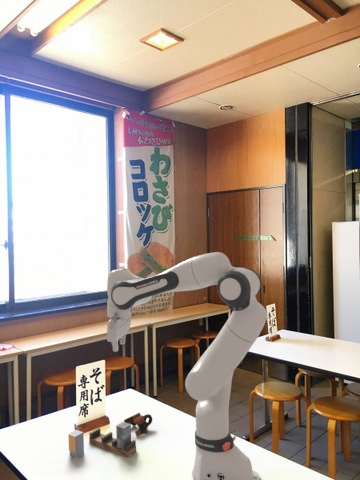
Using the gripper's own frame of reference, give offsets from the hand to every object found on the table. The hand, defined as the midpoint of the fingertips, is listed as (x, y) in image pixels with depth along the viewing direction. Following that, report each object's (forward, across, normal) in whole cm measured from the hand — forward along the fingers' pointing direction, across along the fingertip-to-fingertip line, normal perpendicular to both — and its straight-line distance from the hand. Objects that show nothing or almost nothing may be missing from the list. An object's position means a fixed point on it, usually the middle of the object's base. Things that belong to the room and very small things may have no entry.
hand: (119, 347), depth 152 cm
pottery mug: (+40, +16, -4) cm, 43 cm away
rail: (+39, +2, +3) cm, 40 cm away
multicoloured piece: (+40, -4, +16) cm, 43 cm away
